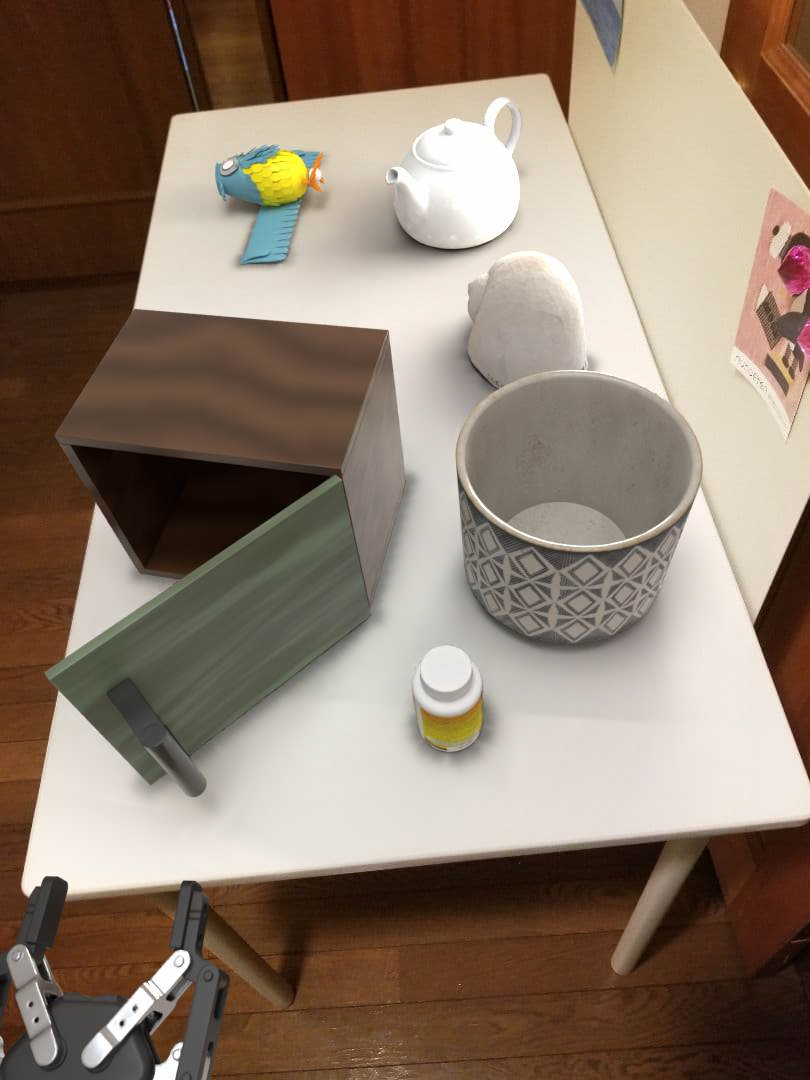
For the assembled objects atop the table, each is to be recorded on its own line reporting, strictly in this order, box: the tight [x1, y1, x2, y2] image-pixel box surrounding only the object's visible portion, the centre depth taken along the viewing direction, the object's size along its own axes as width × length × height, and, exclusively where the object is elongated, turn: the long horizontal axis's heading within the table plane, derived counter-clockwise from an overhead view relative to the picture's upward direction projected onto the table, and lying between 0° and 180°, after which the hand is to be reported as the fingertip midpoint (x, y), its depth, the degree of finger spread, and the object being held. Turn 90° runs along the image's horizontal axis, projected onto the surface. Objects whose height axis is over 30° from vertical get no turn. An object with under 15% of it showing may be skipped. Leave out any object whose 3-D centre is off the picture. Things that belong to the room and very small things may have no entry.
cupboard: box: [54, 308, 407, 609], centre depth 75 cm, size 16×24×20 cm, turn 78°
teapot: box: [384, 96, 523, 250], centre depth 108 cm, size 19×18×14 cm
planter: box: [455, 370, 704, 644], centre depth 71 cm, size 19×19×16 cm
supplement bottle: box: [411, 644, 484, 753], centre depth 65 cm, size 6×6×10 cm
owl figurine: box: [214, 144, 326, 265], centre depth 115 cm, size 28×9×15 cm
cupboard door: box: [44, 475, 371, 798], centre depth 62 cm, size 7×24×20 cm, turn 131°
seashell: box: [467, 250, 589, 389], centre depth 93 cm, size 15×14×15 cm
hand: (124, 880), depth 49 cm, fingers open, 8 cm apart
